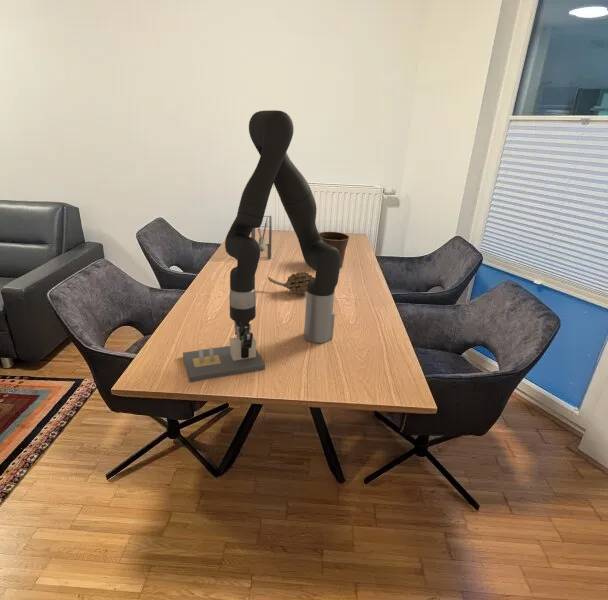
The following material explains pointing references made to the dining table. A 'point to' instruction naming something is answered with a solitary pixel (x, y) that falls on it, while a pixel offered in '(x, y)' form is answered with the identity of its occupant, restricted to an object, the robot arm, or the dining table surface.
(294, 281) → the pine cone
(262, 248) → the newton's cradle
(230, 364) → the board
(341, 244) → the plant pot
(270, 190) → the robot arm
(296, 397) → the dining table surface
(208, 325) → the dining table surface
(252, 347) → the block
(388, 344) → the dining table surface
